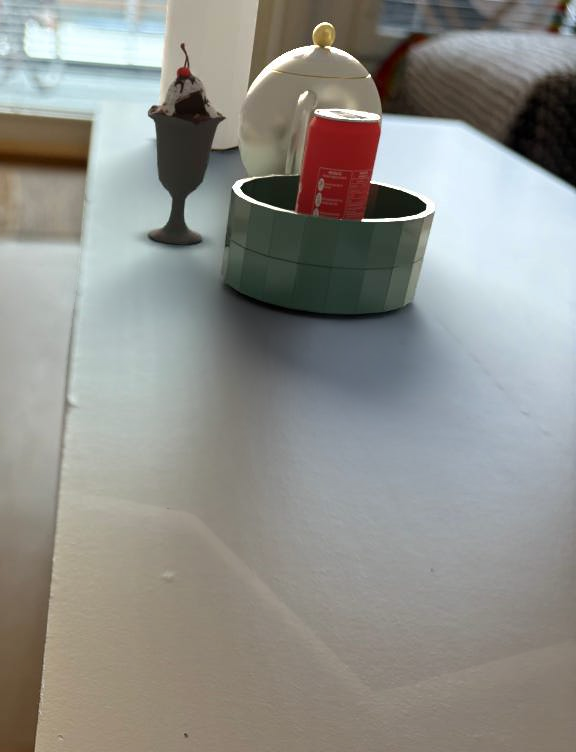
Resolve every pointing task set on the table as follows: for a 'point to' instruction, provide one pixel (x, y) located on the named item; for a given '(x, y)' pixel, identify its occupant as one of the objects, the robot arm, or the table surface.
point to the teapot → (299, 102)
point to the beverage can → (338, 163)
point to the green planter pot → (325, 248)
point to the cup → (212, 55)
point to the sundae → (183, 148)
